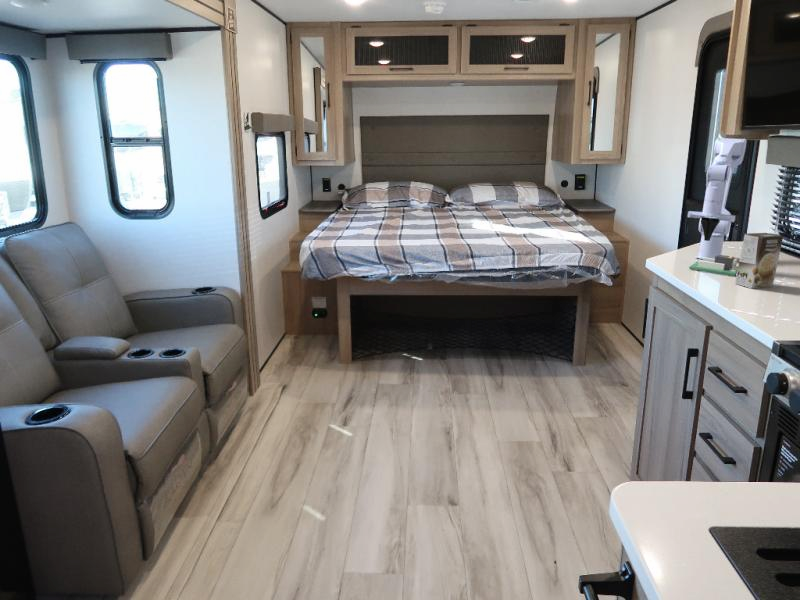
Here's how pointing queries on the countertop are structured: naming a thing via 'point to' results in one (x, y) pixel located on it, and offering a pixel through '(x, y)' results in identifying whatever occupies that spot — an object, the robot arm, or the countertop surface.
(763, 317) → the countertop surface
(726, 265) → the plug
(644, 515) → the countertop surface
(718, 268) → the board
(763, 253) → the coffee box
